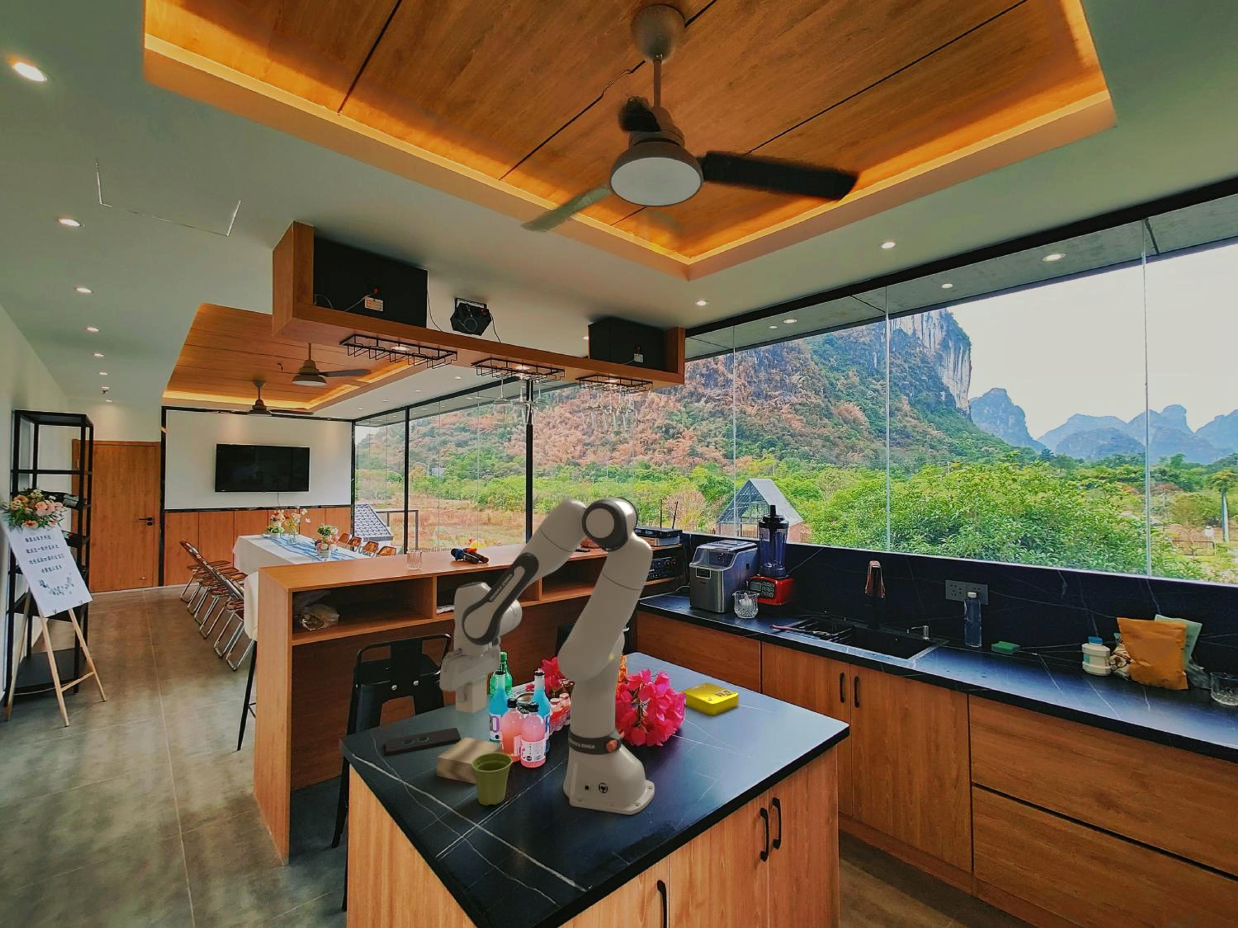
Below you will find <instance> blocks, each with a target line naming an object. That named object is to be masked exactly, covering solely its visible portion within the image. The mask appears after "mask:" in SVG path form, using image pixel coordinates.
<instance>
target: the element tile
mask: <svg viewBox="0 0 1238 928" xmlns="http://www.w3.org/2000/svg"><path fill="white" fill-rule="evenodd" d="M681 693H686V707H687V708H690V707H691V708H690V709H693V710H695V711H697V712H699V713H702V714H705V715H708V716H717V715H720V714H723V713H724V712H728V711H729V710H730V711H731V710H732V709H734V708H737V707H739V698H740V697H739V693H738V692H736V691H733V690H731V689H728V688H725V687H722V686H719V685H717V684H714V683H710V682H704V683H702V684H698V685H695V686H692V687H689V688H687V689H683V690H682V691H681Z"/></svg>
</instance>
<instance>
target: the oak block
mask: <svg viewBox="0 0 1238 928" xmlns="http://www.w3.org/2000/svg"><path fill="white" fill-rule="evenodd" d="M502 744H503V743H499V742H493V741H487V740H481V739H478V738H477V739H476V738H470V737H465V736H464V738H461V741H459V742H458V743H454V744H453V745H452V746H451V747H449V748H448V749H447V750H445V751H443V752H442V753H441V754H439V755H438V756H437V758H436V761H437V762H436V776H438V777H442V778H447V779H451V780H456V781H461V782H465V783H469V784H475V785H476V777H475V773H474V769H473V768H472V761H473V760H474V759H475V758H476V757H478V756H480V755H483V754H487V753H502Z"/></svg>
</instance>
